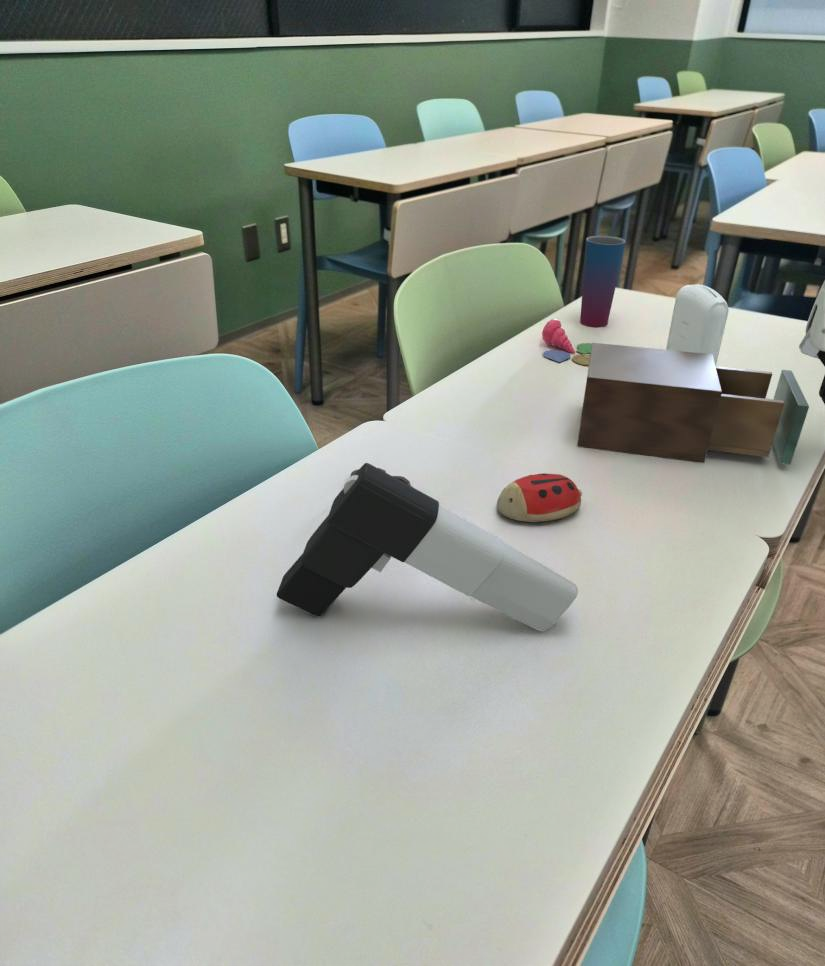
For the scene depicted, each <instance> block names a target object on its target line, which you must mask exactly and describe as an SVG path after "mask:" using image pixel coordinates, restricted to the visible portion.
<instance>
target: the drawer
mask: <svg viewBox="0 0 825 966" xmlns="http://www.w3.org/2000/svg"><path fill="white" fill-rule="evenodd" d="M716 370H717V374H718V378H719V382H720V386H721V390H722V394H721V399H720V403H719V407H718V410H717V414H716V418H715V422H714V426H713V430H712V434H711V438H710V442H709V446H708V450H707V451H714V452H722V453H723V452H724V453H730V454H731V453H732V454H739V455H747V456H757V457H762V458H763V457H764V458H769V456H770V453H771V450H772V446H774V449H775V453H776V455H777V458H778V461H779V463H780V465H791V464H792V461H793V458H794V455H795V452H796V450H797V446H798V443H799V440H800V437H801V433H802V430H803V428H804V424H805V421H806V418H807V415H808V412H809V409H810V405H809V403H808V401H807V399H806V397H805V395H804V393H803V391H802V389H801V386H800V384H799V383H798V381H797V378H796V377H795V374H794V373H793V370H790V369H781V372H780V374H779V379H778V382H777V385H776V388H775V392H774V396H773V398H767V394H768V390H769V387H770V384H771V380H772V377H773V372H772V371H766V370H757V369H746V368H737V367H727V366H719V365H718V366H717V365H716Z"/></svg>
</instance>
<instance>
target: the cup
mask: <svg viewBox="0 0 825 966" xmlns="http://www.w3.org/2000/svg"><path fill="white" fill-rule="evenodd" d="M626 242H627V241H626V239H624V238H622V237H618V236H612V235H611V236H610V235H591V236H588V237H586V238H585V250H584V265H583V275H582V277H583V278H582V289H581V305H580V315H579V316H580V320H579V322H580V324H582V325H583V326H586V327H590V328H603V327H606V326H608V323H609V319H610V314H611V309H612V305H613V300H614V296H615V292H616V287H617V282H618V278H619V273H620V270H621V265H622V261H623V260H622V259H623V255H624V251H625V246H626Z"/></svg>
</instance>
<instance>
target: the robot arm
mask: <svg viewBox="0 0 825 966" xmlns="http://www.w3.org/2000/svg"><path fill="white" fill-rule="evenodd" d="M798 349H799V351H800V353H802V354H803V355H805V356H808V357H812V358H814V359H815V358H816V359H818V360H819V361H820V362H821V363H822V365H823V366H824V367H825V280H824V281H823V283H822V285H821V286H820V289H819V291H818V293H817V296H816V298H815V301H814V303H813V305H812V309H811V310H810V314H809V316H808V320H807V322H806V326H805V335H804V337H803V338H802V340H801V342H800V344H799V345H798ZM818 396H819V397H820V399H821V400H822V403H823V405H825V374H824V376H823V378H822V382H821V384H820V388H819V391H818Z"/></svg>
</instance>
